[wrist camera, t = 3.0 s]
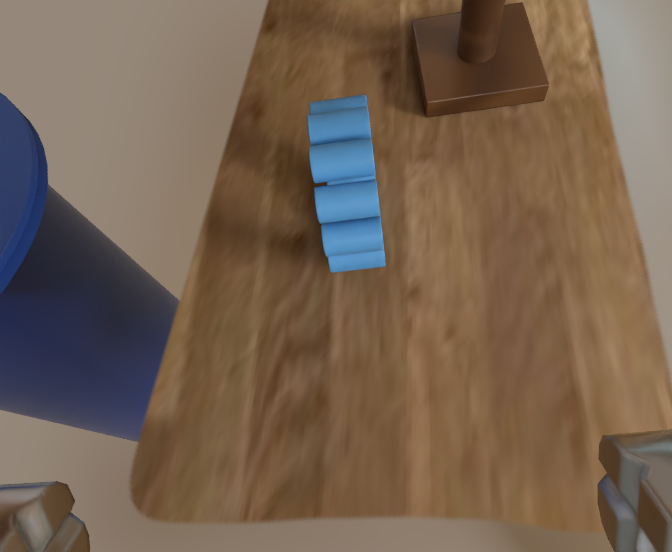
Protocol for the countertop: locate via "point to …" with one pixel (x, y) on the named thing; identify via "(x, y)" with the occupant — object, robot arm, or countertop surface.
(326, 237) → the blue cylinder bundle
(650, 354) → the countertop surface
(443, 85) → the tape stand
